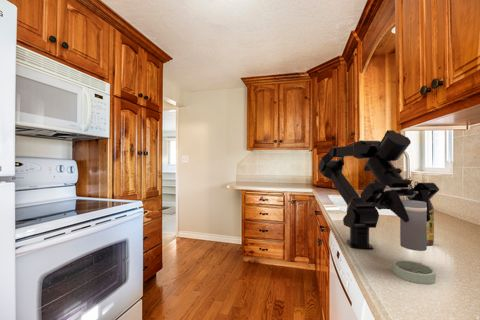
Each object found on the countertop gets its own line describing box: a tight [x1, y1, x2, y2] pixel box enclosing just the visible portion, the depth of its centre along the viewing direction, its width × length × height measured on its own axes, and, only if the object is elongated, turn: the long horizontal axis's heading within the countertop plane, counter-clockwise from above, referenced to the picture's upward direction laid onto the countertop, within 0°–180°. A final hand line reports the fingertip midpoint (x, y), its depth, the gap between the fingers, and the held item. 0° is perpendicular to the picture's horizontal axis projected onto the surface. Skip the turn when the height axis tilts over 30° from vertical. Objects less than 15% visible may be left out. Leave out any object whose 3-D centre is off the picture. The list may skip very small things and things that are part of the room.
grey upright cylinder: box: [399, 199, 428, 252], centre depth 58 cm, size 5×5×11 cm
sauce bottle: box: [414, 183, 435, 246], centre depth 83 cm, size 6×6×20 cm
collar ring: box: [392, 259, 436, 285], centre depth 58 cm, size 8×8×2 cm
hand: (418, 221), depth 57 cm, fingers closed on grey upright cylinder, 5 cm apart
